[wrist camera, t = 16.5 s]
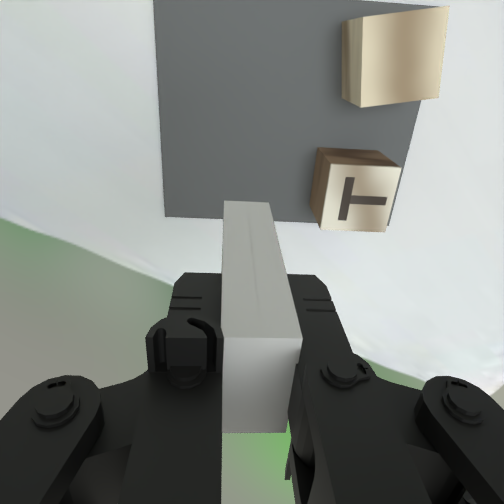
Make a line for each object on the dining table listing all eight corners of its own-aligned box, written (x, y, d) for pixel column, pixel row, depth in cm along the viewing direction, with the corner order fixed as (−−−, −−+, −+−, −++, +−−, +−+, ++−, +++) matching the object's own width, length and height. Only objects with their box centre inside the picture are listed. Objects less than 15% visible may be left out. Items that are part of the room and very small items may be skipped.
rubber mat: (165, 215, 40) (165, 216, 39) (153, -16, 30) (152, -17, 30) (387, 224, 41) (388, 225, 41) (442, 7, 32) (445, 7, 31)
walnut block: (385, 232, 34) (365, 207, 40) (401, 167, 32) (378, 150, 37) (320, 229, 34) (309, 204, 39) (331, 164, 31) (317, 147, 36)
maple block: (341, 98, 34) (360, 107, 29) (341, 21, 31) (363, 17, 26) (407, 89, 34) (438, 97, 29) (413, 12, 31) (449, 5, 26)
